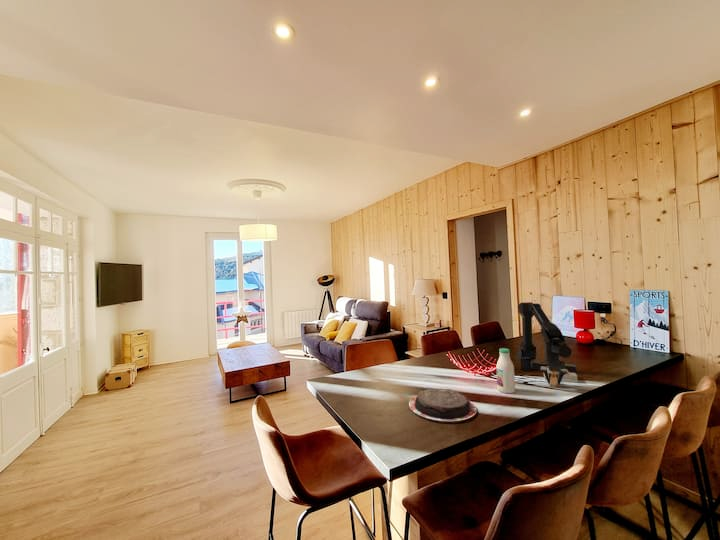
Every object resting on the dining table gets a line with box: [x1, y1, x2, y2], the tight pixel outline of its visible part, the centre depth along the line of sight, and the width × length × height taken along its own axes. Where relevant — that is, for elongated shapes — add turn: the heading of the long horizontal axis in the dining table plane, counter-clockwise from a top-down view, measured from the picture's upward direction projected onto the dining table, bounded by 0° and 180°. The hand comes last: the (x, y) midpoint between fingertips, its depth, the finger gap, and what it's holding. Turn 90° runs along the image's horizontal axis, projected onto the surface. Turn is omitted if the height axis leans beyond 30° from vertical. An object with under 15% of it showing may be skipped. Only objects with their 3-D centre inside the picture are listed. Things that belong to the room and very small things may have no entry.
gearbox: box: [542, 368, 579, 384], centre depth 154 cm, size 14×10×5 cm
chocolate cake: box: [408, 388, 477, 424], centre depth 123 cm, size 28×28×7 cm
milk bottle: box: [496, 347, 516, 394], centre depth 140 cm, size 8×8×20 cm
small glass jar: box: [548, 373, 560, 388], centre depth 144 cm, size 4×4×6 cm
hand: (553, 383), depth 144 cm, fingers closed on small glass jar, 4 cm apart
